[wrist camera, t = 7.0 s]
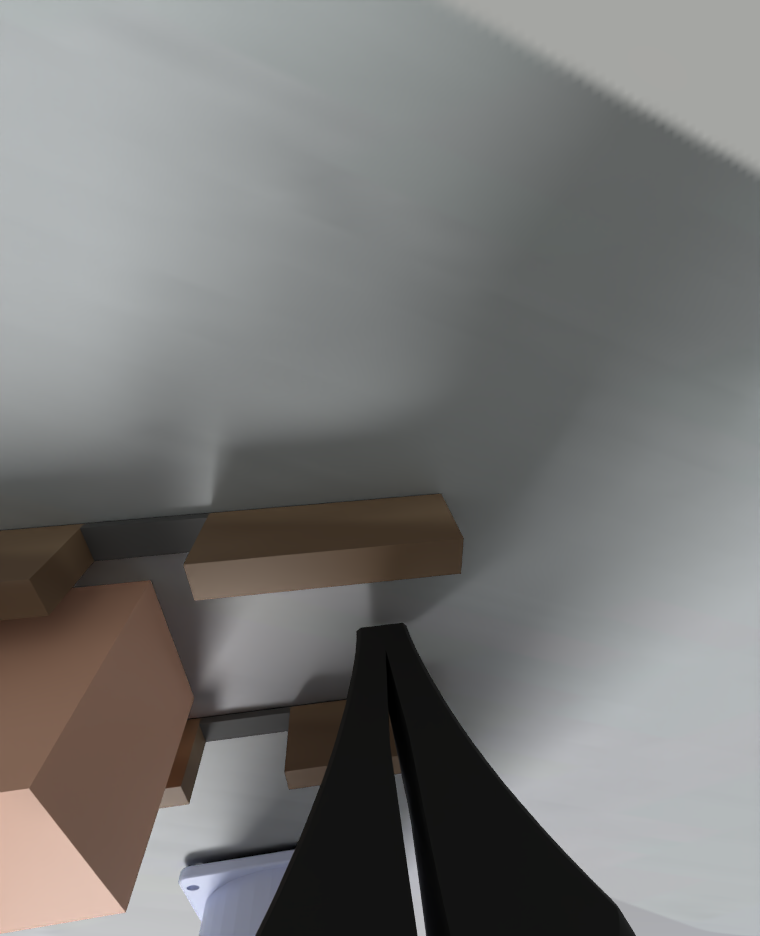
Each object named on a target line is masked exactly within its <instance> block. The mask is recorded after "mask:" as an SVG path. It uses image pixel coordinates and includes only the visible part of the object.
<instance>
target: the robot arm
mask: <svg viewBox="0 0 760 936" xmlns="http://www.w3.org/2000/svg"><path fill="white" fill-rule="evenodd" d="M389 716H390V721H391V726H392V731H393V736H394V740H395V745H396V750H397V755H398V760H399V764H400V769H401V774H402V779H403V783H404V788H405V793H406V798H407V803H408V808H409V814H410V819H411V825H412V833H413V840H414V847H415V855H416V862H417V869H418V877H419V884H420V892H421V899H422V907H423V914H424V922H425V930H426V936H636V935H635V933H634V932H633V930H632V928H631V927H630V925H629V923H628V922H627V920H626V919H625V917H624V915H623V914H622V912H621V911H620V909H619V908H618V906H617V905H616V904H615V903H614V902H613V901H612V899H611V898H610V897H609V896H608V895H607V894H606V893H605V892H604V891H603V890H602V889H601V888H600V887H598V886H597V885H596V884H595V883H594V882H593V881H592V880H591V879H590V878H589V877H588V875H587V874H586V873H585V872H584V871H583V870H582V869H581V868H580V867H579V866H578V865H577V864H576V863H575V862H574V861H573V860H572V859H571V858H570V857H569V856H568V855H567V854H566V853H565V852H564V851H563V849H562V848H561V847H560V846H559V845H558V844H557V843H556V842H555V841H554V840H553V839H552V838H551V836H550V835H549V834H548V833H547V832H546V831H545V830H544V829H543V828H542V827H541V826H540V824H539V823H538V822H537V821H536V820H535V819H534V817H533V816H532V815H531V814H530V813H529V812H528V810H527V809H526V808H525V807H524V806H523V805H522V804H521V802H520V801H519V800H518V799H517V798H516V797H515V795H514V794H513V793H512V792H511V791H510V790H509V788H508V787H507V786H506V785H505V784H504V782H503V781H502V780H501V779H500V777H499V776H498V775H497V773H496V772H495V771H494V770H493V768H492V767H491V766H490V765H489V763H488V762H487V761H486V759H485V758H484V757H483V755H482V754H481V753H480V751H479V750H478V749H477V747H476V746H475V745H474V743H473V742H472V741H471V739H470V738H469V736H468V735H467V733H466V732H465V731H464V729H463V728H462V726H461V725H460V723H459V722H458V720H457V719H456V717H455V716H454V714H453V713H452V711H451V710H450V708H449V707H448V705H447V703H446V702H445V700H444V699H443V697H442V695H441V694H440V692H439V690H438V689H437V687H436V685H435V683H434V682H433V680H432V678H431V677H430V675H429V673H428V671H427V669H426V668H425V666H424V664H423V662H422V660H421V658H420V656H419V654H418V652H417V650H416V648H415V646H414V644H413V641H412V639H411V637H410V634H409V632H408V629H407V626H406V625H405V624H403V623H398V624H389V625H381V626H372V627H364V628H360V629H359V630H357V641H356V653H355V660H354V667H353V672H352V678H351V682H350V687H349V691H348V696H347V700H346V705H345V709H344V712H343V716H342V719H341V723H340V726H339V730H338V734H337V737H336V741H335V744H334V747H333V750H332V753H331V756H330V759H329V762H328V765H327V768H326V771H325V774H324V777H323V780H322V783H321V785H320V788H319V791H318V793H317V796H316V799H315V801H314V804H313V806H312V809H311V812H310V814H309V817H308V819H307V822H306V824H305V827H304V829H303V832H302V834H301V837H300V839H299V841H298V844H297V846H296V848H295V849H294V850H288V851H281V852H275V853H269V854H262V855H256V856H250V857H243V858H237V859H231V860H224V861H218V862H212V863H205V864H199V865H193V866H188V867H186V868H184V869H183V870H182V871H181V873H180V877H179V881H178V882H179V885H180V886H181V888H182V890H183V891H184V893H185V895H186V897H187V898H188V900H189V902H190V903H191V905H192V907H193V908H194V910H195V912H196V914H197V915H198V917H199V919H200V920H201V927H200V932H199V936H417V929H416V922H415V916H414V909H413V902H412V896H411V889H410V882H409V875H408V868H407V861H406V854H405V847H404V840H403V833H402V826H401V819H400V812H399V805H398V798H397V790H396V783H395V776H394V769H393V761H392V754H391V747H390V732H389Z"/></svg>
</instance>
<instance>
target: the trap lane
mask: <svg viewBox="0 0 760 936" xmlns="http://www.w3.org/2000/svg"><path fill="white" fill-rule="evenodd" d="M463 540H464V538H463V536H462V534H461V532H460V530H459V528H458V526H457V524H456V522H455V520H454V518H453V516H452V514H451V512H450V510H449V508H448V506H447V504H446V502H445V500H444V498H443V497H442V495H441V494H432V495H420V496H408V497H397V498H385V499H373V500H361V501H349V502H337V503H325V504H313V505H301V506H289V507H277V508H265V509H253V510H242V511H230V512H218V513H206V514H194V515H182V516H170V517H158V518H146V519H134V520H122V521H110V522H99V523H87V524H75V525H63V526H51V527H39V528H27V529H15V530H3V531H0V620H10V619H20V618H30V617H40V616H49V615H50V614H51V613H52V611H53V610H54V609H55V608H56V607H57V605H58V604H59V603H60V602H61V600H62V599H63V598H64V597H65V596H66V594H67V593H68V592H69V591H70V590H71V588H72V587H73V586H74V585H75V584H76V582H77V581H78V580H79V579H80V578H81V576H82V575H83V574H84V573H85V571H86V570H87V569H88V568H89V567H90V565H91V564H92V563H93V562H94V561H100V560H110V559H121V558H132V557H143V556H154V555H165V554H176V553H187V552H189V554H188V556H187V558H186V560H185V562H184V564H183V566H184V569H185V572H186V575H187V578H188V582H189V585H190V588H191V591H192V594H193V597H194V600H195V601H196V600H206V599H216V598H226V597H235V596H245V595H255V594H265V593H275V592H284V591H294V590H304V589H314V588H323V587H333V586H343V585H353V584H363V583H372V582H382V581H392V580H402V579H412V578H421V577H431V576H441V575H451V574H461V566H462V553H463ZM345 705H346V700H340V701H332V702H324V703H316V704H309V705H301V706H293V707H285V708H277V709H269V710H261V711H254V712H246V713H238V714H230V715H222V716H214V717H206V718H199V719H191V720H187V722H186V725H185V728H184V731H183V734H182V738H181V741H180V744H179V747H178V750H177V753H176V756H175V759H174V763H173V766H172V769H171V772H170V775H169V778H168V781H167V785H166V788H165V791H164V794H163V797H162V800H161V803H160V806H159V808H166V807H173V806H180V805H187V804H189V803H190V799H191V795H192V791H193V788H194V784H195V780H196V776H197V773H198V769H199V765H200V761H201V758H202V754H203V750H204V746H205V743H206V742H209V741H216V740H224V739H231V738H239V737H246V736H254V735H262V734H269V733H277V732H284V731H288V739H287V750H286V760H285V771H284V772H285V776H286V780H287V784H288V788H289V790H290V789H297V788H304V787H311V786H318V785H321V783H322V780H323V777H324V774H325V771H326V768H327V765H328V762H329V759H330V756H331V753H332V750H333V747H334V744H335V741H336V737H337V734H338V730H339V726H340V723H341V719H342V716H343V712H344V709H345ZM389 732H390V747H391V754H392V761H393V769H394V774H401V769H400V764H399V760H398V755H397V750H396V745H395V740H394V736H393V731H392V726H391V721H390V716H389Z"/></svg>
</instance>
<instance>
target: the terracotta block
mask: <svg viewBox="0 0 760 936" xmlns="http://www.w3.org/2000/svg"><path fill="white" fill-rule="evenodd" d="M193 700H194V696H193V693H192V690H191V688H190V685H189V682H188V680H187V677H186V674H185V672H184V669H183V666H182V663H181V661H180V658H179V655H178V653H177V650H176V647H175V645H174V642H173V639H172V637H171V634H170V631H169V628H168V626H167V623H166V620H165V618H164V615H163V612H162V610H161V607H160V604H159V602H158V599H157V596H156V593H155V591H154V588H153V585H152V583H151V580H149V581H138V582H128V583H118V584H107V585H97V586H87V587H76V588H71V590H70V591H69V592H68V593H67V594H66V596H65V597H64V598H63V599H62V600H61V602H60V603H59V604H58V605H57V607H56V608H55V609H54V610H53V611H52V613H51V614H50V615H49V616H40V617H30V618H20V619H10V620H0V934H2V933H8V932H14V931H20V930H25V929H31V928H37V927H43V926H49V925H55V924H61V923H67V922H72V921H78V920H84V919H90V918H96V917H102V916H108V915H114V914H120V913H125V912H126V910H127V907H128V904H129V900H130V897H131V894H132V891H133V888H134V885H135V882H136V878H137V875H138V872H139V869H140V866H141V863H142V860H143V857H144V853H145V850H146V847H147V844H148V841H149V838H150V835H151V832H152V828H153V825H154V822H155V819H156V816H157V813H158V810H159V806H160V803H161V800H162V797H163V794H164V791H165V788H166V785H167V781H168V778H169V775H170V772H171V769H172V766H173V763H174V759H175V756H176V753H177V750H178V747H179V744H180V741H181V738H182V734H183V731H184V728H185V725H186V722H187V719H188V716H189V713H190V709H191V706H192V703H193Z"/></svg>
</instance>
